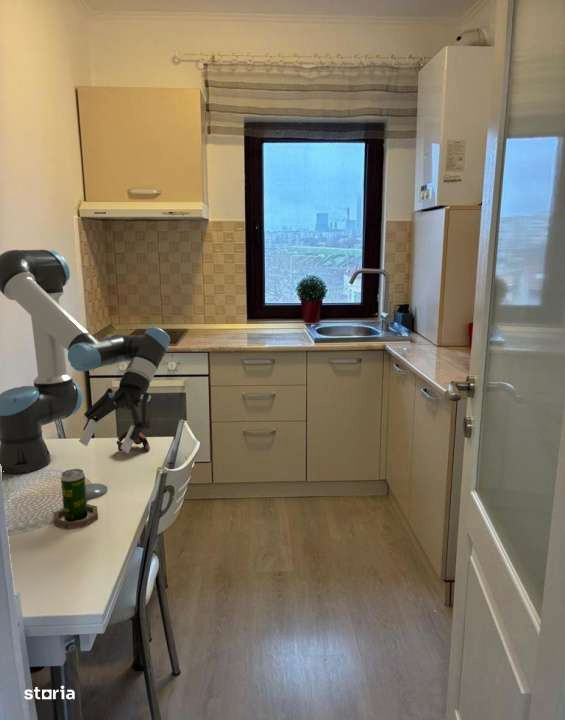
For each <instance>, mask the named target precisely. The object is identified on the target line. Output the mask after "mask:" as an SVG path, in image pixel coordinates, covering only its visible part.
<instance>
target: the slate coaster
mask: <svg viewBox="0 0 565 720" xmlns="http://www.w3.org/2000/svg"><path fill="white" fill-rule="evenodd" d="M85 486H86V499H88V500H93V499H97V497H98V498H100V497H102V496H103V495H104V496H105V495H106V494H107V492H108V487H107V485H105V484H104V483H103V484H102V483H98V482H97V483H95V482H94V483H85Z"/></svg>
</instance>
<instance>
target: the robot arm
mask: <svg viewBox="0 0 565 720" xmlns="http://www.w3.org/2000/svg"><path fill="white" fill-rule="evenodd" d="M70 271H71V270H70V268H69V264H68V262H67V261H66V259H65V257H63V256H62V255H61V254H60V252H57V251H54V250H50V249H49V250H48V249H13V250H12V249H11V250H7V251H4V252H3V253H1V254H0V292H1V293H2V294H3V295H4V296H5V297H6V298H7V299H8V300H10V301H15V302H16V303H17V304H19V305H20V307H22V308H23V309H24V310H25V312H27V313H28V314H29V315H30V316H31V317H30V318H31V326H32V334H33V335H32V336H33V343H34V352H35V361H36V370H37V376H36V377H35V379H34V380H33V386H32V385H24V386H20V387H17V386H16V387H12V388H10V389H9V388H8V389H7V390H4V391H3V392H1V393H0V464H1V466H2V472H1V473H2V474H7V473H17V474H22V473H21V472H25V473H28V472H27V471H30V472H33V471H32V470H34V471H37V469H38V470H41V469H43V468H45V467H46V466H48V465H49V464H50V463H51V461H52V460H51V459H52V458H51V453H50V450H49V449H48V446H47V444H46V443H45V440H44V438H43V430H42V426H45V425H47V424H51V423H54V422H57V421H60V420H65V419H67V418H69V417H70V416H71V417H72V416H73V415H75V414H77V412H78V411H79V410H80V408H81V407H82V402H83V392H82V389H81V388H80V387H79V384H78V383H77V382H75V381H74V380H73V376H72V375H70V374H69V373H68V370H67V364H66V363H67V362H66V353H65V350H66V351H67V360H68V362H69V364H70V366H71V367H72V368H73V369H74V370H76V371H79V372H85V371H93V370H96V369H99V368H103V367H106V366H110V365H115V364H119V363H123V362H129V363H128V365H127V367H126V369H125V372H124V373H123V375H122V377H121V379H120V380H119V384H118V385H119V387H118V389H117V390H113V389H112V388H111V387H109V388H107V390H106V391H105V392H104V394H103V395H102V396H101V397H100V398H99V399H98V400H97V401H96V402H94V404H93V405H92V406H90V407H89V408H88V409H87V410H86V412H84V417H86V418H87V421H86V423H85V425H84V427H83V431H82V434H81V436H80V438H79V440H78V442H80V443H81V444H82V445H83V446H85V447H87V446H88V444H89V443H90V441H91V439H92V437H93V436H94V434H95V432H96V429H97V427H98V425H99V424H98V422H99V421H101V420H102V419H103V418H105V417H106V416H107V415H109V414H110V413H112V412H113V411H114V410H118V409H127V410H130V413H131V416H132V420H133V424H132V425H130V427H129V429H128V430H129V431H128V430H127V431H128V433H127V435H126V437H125V438H124V439H123V441H122V442H123V444H122V446H121V449H122V450H123V452H124V453H125V454H129V453H130V450H132V449H131V446H132V447H133V445H134V443H133V442H134V441H136V440H137V438H138V436H139V434H140V432H141V433H142V431H143V430H144V429H146V430H148V429H150V428H151V404H152V402H153V397H152V396H151V395H150V394H149V393H148V389H149V387H150V385H151V384H150V383H152V381H153V379H154V376H155V374H156V373H157V370H158V368H159V366H160V364H161V362H162V360H163V359H164V357H165V354H166V352H167V351H168V347H169V345H170V343H171V337H170V335H169V334H168V332H166V331H165V330H164V329H161V328H160V327H155V326H150V327H149V328H147V329H146V331H145V332H144V333H143V335H140V334H139V335H135V334H134V335H131V334H121V333H118V334H110V335H107V336H106V337H105V338H100V339H97V338H96V337H95V336H94V335H93V334H91V332H89V331H88V330H87V329H86V328H85V327H84V326H83V325H82V324H81V323H79V322H78V320H76V319H75V318H74V317H73V316H72V315H71V314H70V313H69V312H68V311H66V309H65V308H63V307H62V306H61V304H60V298H61V297H62V295H63V294H64V288H63V287H64V286H66V285H67V284H68V283H69V279H70V276H71V274H70V273H71V272H70ZM140 402H141V413H140V408H139V403H140ZM3 471H4V473H3Z"/></svg>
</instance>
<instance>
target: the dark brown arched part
mask: <svg viewBox="0 0 565 720" xmlns="http://www.w3.org/2000/svg"><path fill="white" fill-rule="evenodd" d="M128 431H129V429H128V430H126V431H124V432H123V433H121V435H120V436H118V437H117V441H116V445H117V449H118V451H119V452H120V451H121V452H122V451H123V450H122V449H121V446H122V444H123V442H124V439H125V437H126V435H127V433H128ZM133 444H135V445H141V444H142V446H144V447H143V448H145V449H146V452H147V451H149V452H150V449H151V447H150V444H149V441H148V439H147V437H146V436H145V435H144V434H143V433H142V431H141V432H140V434H139V436H138V438H137V440H136V441H134V442H133ZM130 450H133V445H132V446H131V449H130ZM123 452H124V451H123Z"/></svg>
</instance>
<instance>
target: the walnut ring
mask: <svg viewBox="0 0 565 720" xmlns="http://www.w3.org/2000/svg"><path fill="white" fill-rule="evenodd" d="M87 512H88V513H91V514H90V515H88V516H87V518H85V519H83V520H77V521H71V522H67V521H65V520H63V519H61V518H62V517H63V518H64V509H63V507H62V508H60V509H59V510H57V511H55V512H54V513H53V527H56V528H58V529H61V530H66V531H67V530H68V531H69V530H75V529H80V528H86V527H88V526H90V525H92V524H93V523H95V522H96V521H98V519H99V512H98V506H96V505H93V504H89V503H87Z"/></svg>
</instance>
